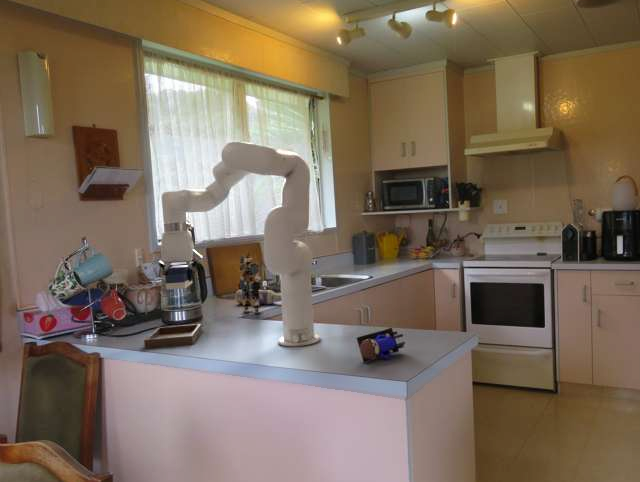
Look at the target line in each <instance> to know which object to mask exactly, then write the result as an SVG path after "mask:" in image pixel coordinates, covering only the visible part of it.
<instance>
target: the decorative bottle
mask: <svg viewBox="0 0 640 482" xmlns="http://www.w3.org/2000/svg"><path fill="white" fill-rule="evenodd" d="M250 291H251V290H250ZM258 291H259V299H258V301H259V302H260V305H266V306H269V305H273V304H274V303H278V302H281V293H278V292H277V293H276V292H275V291H274V290H272V289H271V290H269V289H259V290H258ZM244 293H245V292H244ZM252 294H253V293H252ZM234 297H235V302H236V303H237V304H239V305H243V302H242V301H243V300H245V298H243V295H242V290H240V289H238V290H237V291H236V292H235V295H234ZM248 297H249V296H248ZM248 300H249V301H250V305H251V302H254V301H255V300H253V299H252V298H251V296H250V298H249V299H248ZM246 304H249V303H246Z"/></svg>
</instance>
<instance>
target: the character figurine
mask: <svg viewBox="0 0 640 482" xmlns="http://www.w3.org/2000/svg"><path fill="white" fill-rule="evenodd" d="M403 337H404V334H403V333H400V334H398V331H397V330H396V331H393V327H389V328H386V329H383V330H379V331H376V332H372V333H368V334H365V335H361V336H357V337H356V341H357V345H358V348H359V352H360V354H361V358H362V362H363V363H367V362H369V361H373V360H377V359H380V358H382V359H384V360H388V359H389V357H391V355H392V354H396V353H399V352H400V350H399V349H403V348H405V344H406V342H405V341H401V342H398V343H397V339H399V338H403Z"/></svg>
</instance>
